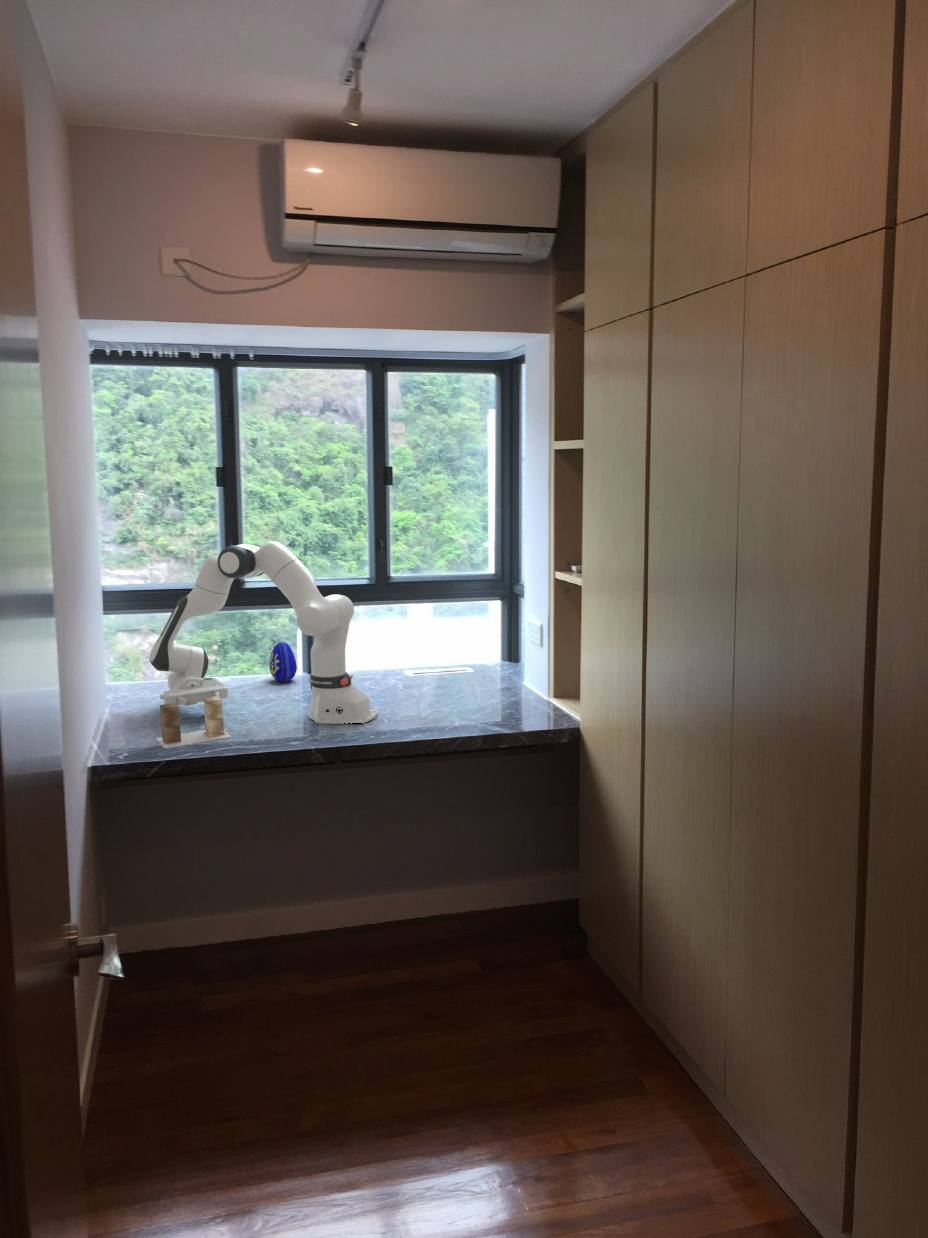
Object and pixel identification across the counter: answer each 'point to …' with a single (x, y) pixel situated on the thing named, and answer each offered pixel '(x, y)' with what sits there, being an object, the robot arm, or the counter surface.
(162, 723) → the walnut pillar
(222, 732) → the birch pillar
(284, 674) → the ornament
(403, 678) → the counter surface
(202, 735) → the white mat
